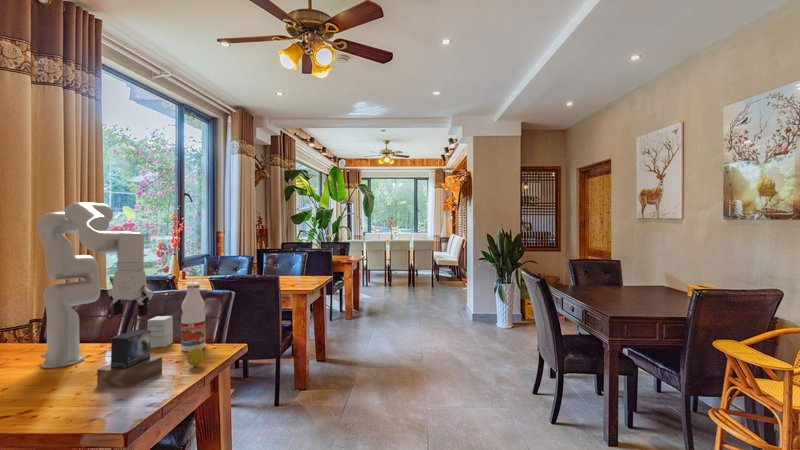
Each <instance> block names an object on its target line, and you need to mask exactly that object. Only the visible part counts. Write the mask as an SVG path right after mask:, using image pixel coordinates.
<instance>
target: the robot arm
mask: <svg viewBox="0 0 800 450" xmlns="http://www.w3.org/2000/svg"><path fill="white" fill-rule="evenodd" d="M113 218H114V212H113V209H112V208H111V207H110V206H109V205H108V204H106V203H98V202H83V201H81V202H80V201H79V202H73V203H69V204H68V205H67V206H66V207H65V208H64V211H53V212H52V211H51V212H46V213H43V214H41V215H40V216H39V218H38V220H37V225H36V227H37V233H38V237H40V239H41V242H42V245H43V247H44V259H45V269H46V270H45V271H46V275H47V277H48V278H49V279H50V280H53V281H62V280H63V281H64V280H73V279H80V281H69V282H61V283H56V284H52V285H50V286H48V287H47V288H45V290H44V291H43V296H42V297H43V302H44V307H45V312H46V351H45V352H44V353H42V354H41V355H40V358H42V359H43V358H44V361H43V362H42V363H41V368H44V369H56V368H57V369H58V368H62V367H63V368H64V367H66V366H67V367H68V366H72V365H75V364H77V363H80V362H82V361H84V360H85V355H83V354H80V315H79V314H78V312H77V311H76V310H75V309H73V308H72V307H74V306H79V305H84V304H91V303H95V302H96V301H98V300H99V299H100V296H101V283H100V272H99V271H100V270H99V264H98V261H97V260H96V258H95V257H94V256H91V255H90V254H89V255H88V254H80V255H79V254H78V255H77V254H76V255H75V252H74V245H73V243H72V241H71V240H70V239H69V238H68V237H67V236H66V235H64V234H77V235H78V239H79V242H80V244H81V245H82V246H83V247H85V248H86V249H87V250H89V251H90V252H92V253H96V254H100V253H101V254H103V253H117V263H116V265H115V266H116V268H117V270H115V271H114V275H113V278H112V279H113V280H112V288H110V289H109V290H107V294H108V297H109V300H110V301H111V304H112V306H113V307H112V308H113V309H112V311H113V312H112V314H113V316H119V315H122V314H123V313H124V302H122V301H137V303H138V304H139V305H138V306H137V317H144V316H147V315H148V305H149V303H150V302H151V301H152V297H153V296H154V294H155V293H154V291H152V290H151V289H149V288H148V281H147V275H146V271H145V269H144V267H145V265H144V263H145V259H144V258H145V236H144V234H143V233H142V232H138V231H129V230H128V231H127V230H122V231H119V230H112V231H111V230H109V231H108V229H109V226H110V222H112V220H113Z"/></svg>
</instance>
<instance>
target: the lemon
mask: <svg viewBox="0 0 800 450" xmlns="http://www.w3.org/2000/svg"><path fill="white" fill-rule="evenodd" d="M186 359H187V360H186V361H187V363H188V365H190V366H193V367H194V368H197V366H198V365H201V363H202V362H203V359H204V351H203V348H202V349H201V348H200V347H197V346H194V347H193V348H191V349H190V350H189V351H187V355H186Z"/></svg>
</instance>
